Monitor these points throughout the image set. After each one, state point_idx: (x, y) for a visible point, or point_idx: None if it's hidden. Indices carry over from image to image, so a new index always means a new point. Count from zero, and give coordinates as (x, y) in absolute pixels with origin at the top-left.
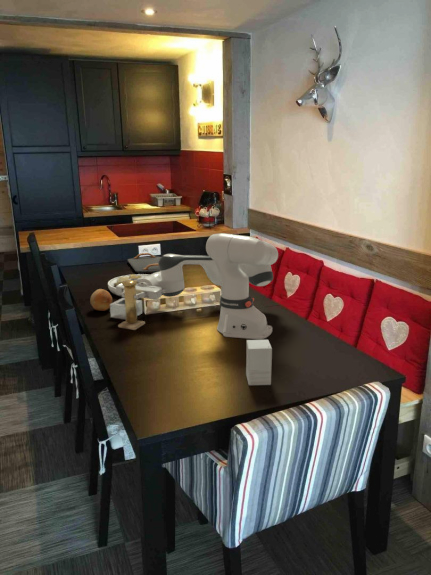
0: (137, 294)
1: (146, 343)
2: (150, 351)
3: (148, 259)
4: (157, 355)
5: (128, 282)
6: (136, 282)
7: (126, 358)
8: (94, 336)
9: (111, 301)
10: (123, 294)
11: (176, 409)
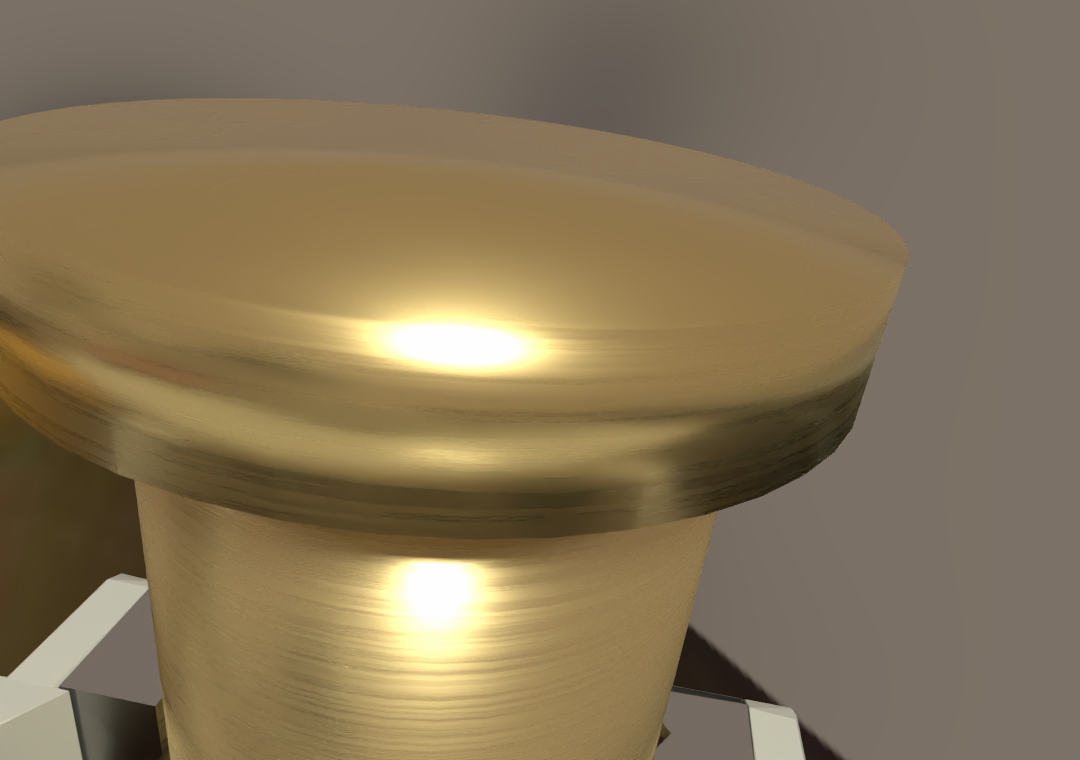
0: (95, 626)
1: (94, 578)
2: (71, 468)
3: None
4: (19, 430)
5: (476, 143)
6: (24, 128)
7: None
8: (721, 659)
9: None
10: (686, 698)
11: None
